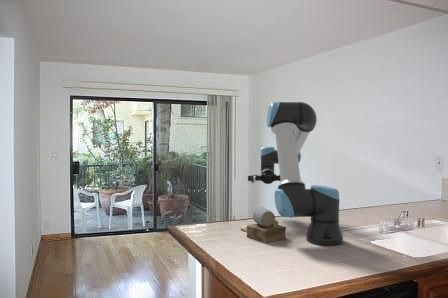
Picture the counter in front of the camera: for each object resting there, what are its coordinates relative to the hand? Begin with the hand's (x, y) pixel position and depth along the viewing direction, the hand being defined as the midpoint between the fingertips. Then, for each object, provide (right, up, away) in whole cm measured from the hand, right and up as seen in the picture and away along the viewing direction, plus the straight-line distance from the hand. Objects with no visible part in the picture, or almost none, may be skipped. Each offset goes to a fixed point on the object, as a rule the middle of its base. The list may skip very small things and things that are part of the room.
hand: (268, 180), depth 172 cm
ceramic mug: (-2, -19, -11) cm, 22 cm away
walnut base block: (-3, -24, -12) cm, 27 cm away
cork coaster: (-9, -24, +2) cm, 25 cm away
